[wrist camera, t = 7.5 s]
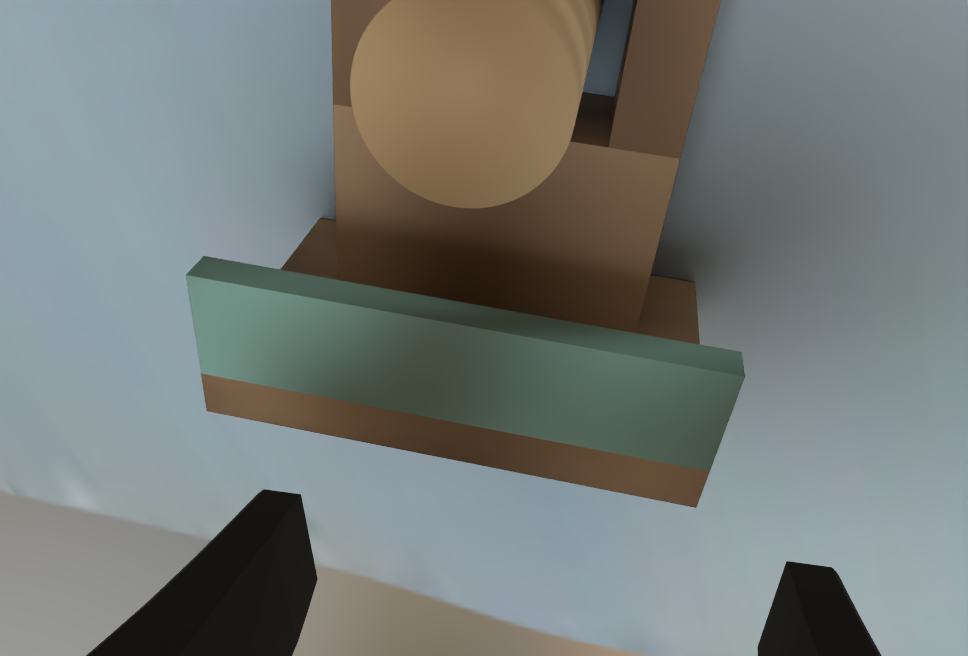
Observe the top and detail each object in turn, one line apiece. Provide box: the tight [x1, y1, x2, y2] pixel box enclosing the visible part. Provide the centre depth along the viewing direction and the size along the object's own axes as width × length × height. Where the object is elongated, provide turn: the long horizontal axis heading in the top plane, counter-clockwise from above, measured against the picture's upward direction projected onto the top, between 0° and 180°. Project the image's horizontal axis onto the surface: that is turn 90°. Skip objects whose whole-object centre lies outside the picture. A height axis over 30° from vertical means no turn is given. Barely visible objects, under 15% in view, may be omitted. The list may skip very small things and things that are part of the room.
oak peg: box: [350, 0, 604, 208], centre depth 13 cm, size 3×3×8 cm
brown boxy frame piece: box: [186, 0, 745, 508], centre depth 15 cm, size 10×11×7 cm
